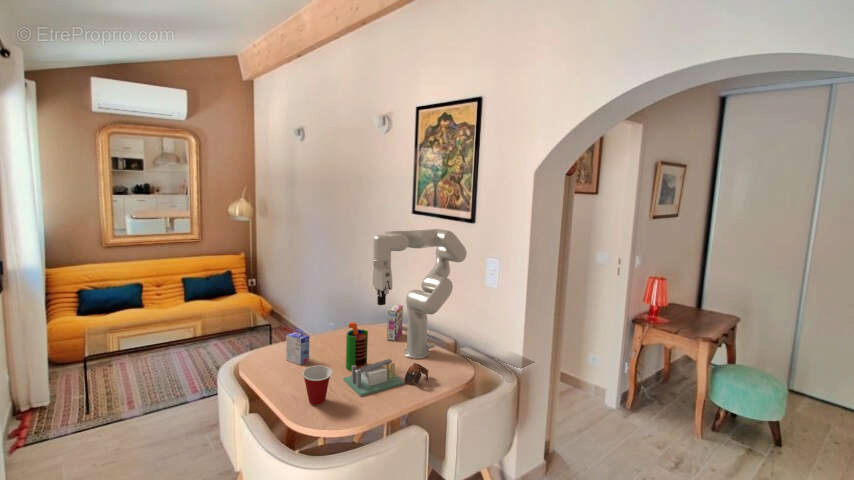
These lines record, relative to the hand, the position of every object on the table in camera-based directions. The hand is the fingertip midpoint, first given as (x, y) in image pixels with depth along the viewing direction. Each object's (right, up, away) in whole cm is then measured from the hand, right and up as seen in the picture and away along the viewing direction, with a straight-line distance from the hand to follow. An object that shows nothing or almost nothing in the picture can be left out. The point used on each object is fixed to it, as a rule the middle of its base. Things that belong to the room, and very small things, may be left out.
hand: (381, 304), depth 187 cm
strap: (-2, -24, -11) cm, 27 cm away
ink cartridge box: (-39, -27, +8) cm, 48 cm away
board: (-2, -31, -10) cm, 32 cm away
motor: (-12, -29, +4) cm, 31 cm away
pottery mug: (+15, -31, -8) cm, 36 cm away
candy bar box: (+3, -24, +40) cm, 47 cm away
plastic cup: (-21, -33, -27) cm, 47 cm away
